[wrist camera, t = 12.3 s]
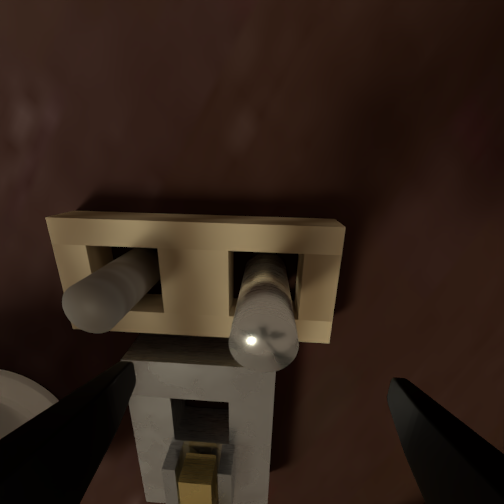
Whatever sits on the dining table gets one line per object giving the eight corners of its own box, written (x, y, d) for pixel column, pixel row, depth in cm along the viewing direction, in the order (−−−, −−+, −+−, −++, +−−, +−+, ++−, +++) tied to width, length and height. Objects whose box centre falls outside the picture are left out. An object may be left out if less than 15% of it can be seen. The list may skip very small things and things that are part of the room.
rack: (334, 218, 17) (369, 245, 11) (321, 321, 19) (344, 386, 14) (75, 210, 18) (-17, 231, 12) (95, 309, 20) (28, 365, 15)
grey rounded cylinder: (287, 252, 18) (301, 316, 10) (284, 290, 19) (296, 374, 11) (245, 251, 18) (228, 312, 10) (244, 288, 19) (228, 370, 11)
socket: (274, 340, 20) (276, 391, 16) (266, 473, 25) (266, 540, 21) (140, 333, 21) (105, 379, 16) (159, 464, 26) (136, 528, 21)
